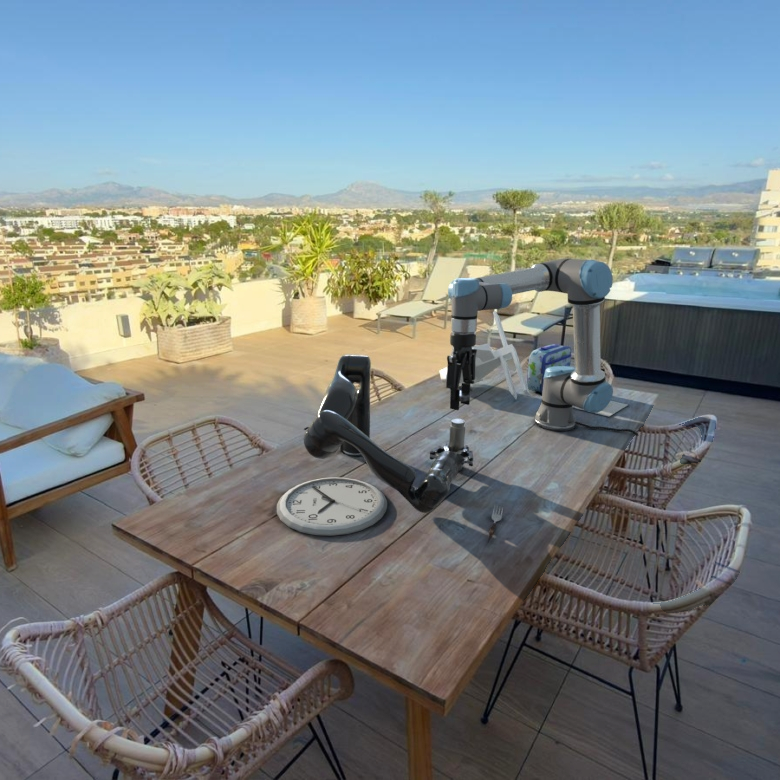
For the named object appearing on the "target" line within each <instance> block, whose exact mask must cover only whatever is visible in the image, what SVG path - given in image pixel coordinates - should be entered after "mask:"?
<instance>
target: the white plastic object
mask: <svg viewBox="0 0 780 780" xmlns="http://www.w3.org/2000/svg"><path fill="white" fill-rule="evenodd" d="M492 315H493V319H494V321H495V324H496V325H495V326H496V328H497V332H498V335H499V338H500V342H501V345H502V347H500V348H498V349H496V350H495V349H493V348H492V347H491V346H490V344H489V343H488V342H487V343H483V344H479V345H475V346H473V347H472V349H477V353H476V362H475V380H472V381H474V384H477V383H480V382H482V381H484V378H485V377H486V376H487V375H489V374H490V373H492V372H494V371H495V370H496V369H497V368H499V367H500V366H502V370H503V373H504V376H505V380H506V383H507V386H508V390H509V393H510V394H511V395H512V397H513V398H514V399H515V400H517V392H516V391H517V390H516V388H515V385H514V381H513V378H512V375H511V371H510V369H509V365H508V361H510V360H513V363H514V366H515V369H516V372H517V376H518V380H519V382H520V385H521V389H522V391H523V393H524V395H525V396H526V397H528V396H531V395H530V390H529V389H528V387H527V380H526V378H525V375H524V371H523V369H522V368H523V367H522V366H521V362H520V359H519V355H518V352H517V349H516V347H515V346H514V345H513V343H511V344H508V341H507V337H506V334H505V331H504V328H503V325H502V321H501V318H500V315H499V314H498V312H497V311H496V310H495V311H492ZM453 349H454V347H453V346H452V349H451V353H450V356H451V355H453ZM457 364H458V363H457ZM447 367H448V366H446V367H444V368H442V369H440V370H439V371H438V372H439V376H440V381H442V383H443V384H444V385H445V386H446V382H447ZM471 376H472V375H471ZM462 383H465V382H463V374H462V372H461V377H460V382H459V384H462Z"/></svg>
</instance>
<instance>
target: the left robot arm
mask: <svg viewBox="0 0 780 780" xmlns="http://www.w3.org/2000/svg"><path fill="white" fill-rule="evenodd" d="M371 377H372V361H371V358H370V356H368V355H360V354H359V355H358V354H343V355H342V356H341V357H339V359H338V361H337V364H336V367H335V370H334V373H333V377H332V379H331V381H330V383H329V385H328V387H327V389H326V391H325V393H324V395H323V398H322V400H321V403H320V406H319V408H318V411H317V415H316V417H315V418H314V420H313V421H312V422H311V423H310V425H309V426H306V427H304V428H303V431H305V432H304V436H303V444H304V447H305V450H306V451H307V453H308V454H309V455H310V456H312V457H313V458H316V459H319V460H325V459H329V458H330V457H333V456H334V454H336V453H337V451H338V450H339V452H340V453H343V454H345V455H347V456H352V457H360V456H361V457H363V459H364V461H365V463H366V465H367V467H368V468H369V470H370V472H371V473H372V475H373V476H374V477H375V478H377V480H378V481H380V482H382V483H383V484H385V485H387V486H389V487H390V488H392V489H394V490H395V491H396V492H398V493H399V495H401V496H402V497H403V498H404V499H405V500H406V501H407V502H408V503H409V504H410V505H411V506H412V507H413V508H414V509H415V510H416V511H417V512H419V513H423V514H429V513H431V512H433V511H434V510H435V509H436V508H437V507H438V506H439V504H441V502H442V501H443V500H444V499H445V498H446V497H447V496H448V494H449V493H450V489H451V484H452V482H453V481H454V480H455V478H456V477H457V475H458V472H459V471H460V470H459V469H460V467H461V466H462V465H463V466H464V464H467V465H468V466H469V467H473V466H474V452H473V450H470V446H468V445H467V444H464V448H463V450H459V451H457V452H452V451H449V442H448V443H446V444H445V445H444V446H443V447H442V445H438V446H436V447H434V448H432V449H431V450H429V460H434V461H433V462H432V463H431V466H430V468H429V470H428V471H427V473H426V475H425V478H424V480H422V482H421V483H419V485H418V486H417V487H416V486H414V485H413V484H414V483H415V480H416V477H417V471H416V469H414V468H413V467H411V466H410V465H408V464H406V463H405V462H404V461H401V460H400V459H398V458H397V457H395V456H394V455H392V454H391V453H389V452H388V451H386V450H384V448H382V447H381V446H379V445H378V444H377V443H376V442H375V441H373V440H372V439H371ZM355 384H356V385H359V386H358V387H356V386H355Z"/></svg>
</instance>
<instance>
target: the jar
mask: <svg viewBox="0 0 780 780" xmlns="http://www.w3.org/2000/svg"><path fill="white" fill-rule="evenodd" d="M450 421H451V422H450V425H449V440H448V441H449V442H448V443H449V451H452V452H457V451H459V450H463V448H464V446H465V436H466V425H465V424H466V422H465V419H461V418H453V419H451V420H450ZM463 466H464V464H463V465H462V466H461V467H460V469H459V471H462V470H463V468H464V467H463Z"/></svg>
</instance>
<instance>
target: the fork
mask: <svg viewBox="0 0 780 780" xmlns="http://www.w3.org/2000/svg"><path fill="white" fill-rule="evenodd" d="M498 506H499V505H497V506H496V505H494V507H493V510H492V514H491V520H492V521H493V523H492V524H491V526H490V528H489V532H488V539H487V543H490V541H491V539H492V537H493V535H494V533H495V529H496V523H497V522H499V521H502V518H503V510H504V507H502V508H501V507H499V509H498ZM500 511H501V512H500Z"/></svg>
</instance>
